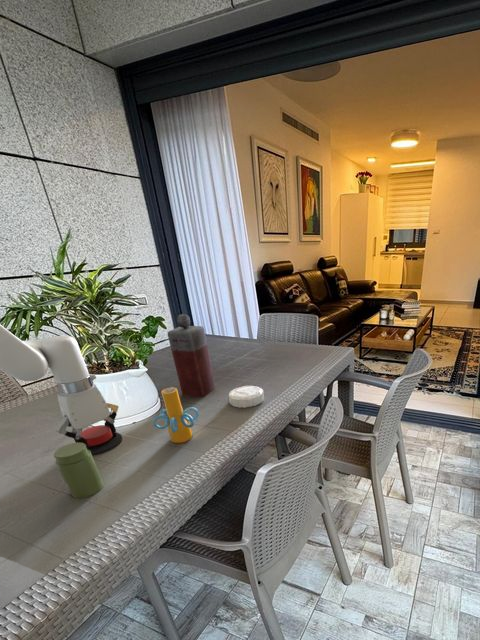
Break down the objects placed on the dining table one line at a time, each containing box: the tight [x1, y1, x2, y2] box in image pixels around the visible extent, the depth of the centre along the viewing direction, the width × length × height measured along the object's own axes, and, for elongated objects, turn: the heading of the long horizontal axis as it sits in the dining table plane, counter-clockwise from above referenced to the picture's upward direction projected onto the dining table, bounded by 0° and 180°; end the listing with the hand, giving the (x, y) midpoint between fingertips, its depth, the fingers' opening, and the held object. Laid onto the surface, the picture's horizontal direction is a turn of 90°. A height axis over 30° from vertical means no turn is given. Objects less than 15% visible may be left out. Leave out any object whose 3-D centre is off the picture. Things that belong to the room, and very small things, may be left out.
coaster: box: [87, 431, 123, 456], centre depth 100 cm, size 12×12×1 cm
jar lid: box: [81, 424, 113, 446], centre depth 99 cm, size 8×8×2 cm
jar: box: [53, 442, 105, 499], centre depth 80 cm, size 7×7×11 cm
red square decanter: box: [167, 314, 217, 398], centre depth 125 cm, size 9×11×28 cm
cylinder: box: [152, 387, 200, 444], centre depth 98 cm, size 12×10×15 cm
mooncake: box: [227, 385, 265, 409], centre depth 122 cm, size 12×12×4 cm
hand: (98, 441), depth 100 cm, fingers closed on jar lid, 7 cm apart
